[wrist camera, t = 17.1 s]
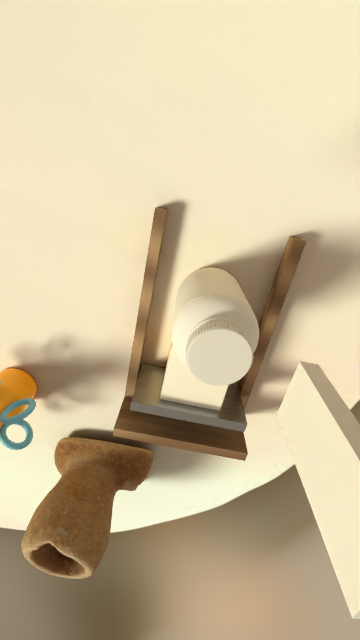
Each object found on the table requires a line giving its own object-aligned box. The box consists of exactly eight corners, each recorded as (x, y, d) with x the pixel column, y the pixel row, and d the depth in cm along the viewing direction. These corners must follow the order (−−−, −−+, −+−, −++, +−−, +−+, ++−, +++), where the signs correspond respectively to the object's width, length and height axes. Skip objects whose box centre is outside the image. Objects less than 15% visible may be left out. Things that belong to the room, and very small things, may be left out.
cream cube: (175, 319, 38) (171, 345, 32) (229, 330, 39) (236, 359, 32) (165, 366, 41) (159, 399, 35) (215, 376, 42) (219, 410, 35)
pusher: (142, 363, 41) (131, 401, 33) (237, 382, 41) (247, 424, 34) (141, 371, 41) (129, 409, 34) (235, 389, 42) (244, 431, 34)
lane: (157, 206, 33) (146, 211, 26) (300, 238, 34) (329, 251, 26) (126, 394, 43) (112, 435, 36) (236, 415, 44) (244, 460, 37)
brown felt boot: (57, 477, 51) (7, 583, 37) (59, 424, 46) (2, 523, 32) (145, 492, 51) (127, 602, 38) (155, 441, 47) (140, 545, 33)
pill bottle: (253, 279, 36) (290, 335, 22) (224, 335, 39) (241, 413, 25) (192, 254, 35) (190, 295, 21) (167, 313, 38) (152, 382, 24)
